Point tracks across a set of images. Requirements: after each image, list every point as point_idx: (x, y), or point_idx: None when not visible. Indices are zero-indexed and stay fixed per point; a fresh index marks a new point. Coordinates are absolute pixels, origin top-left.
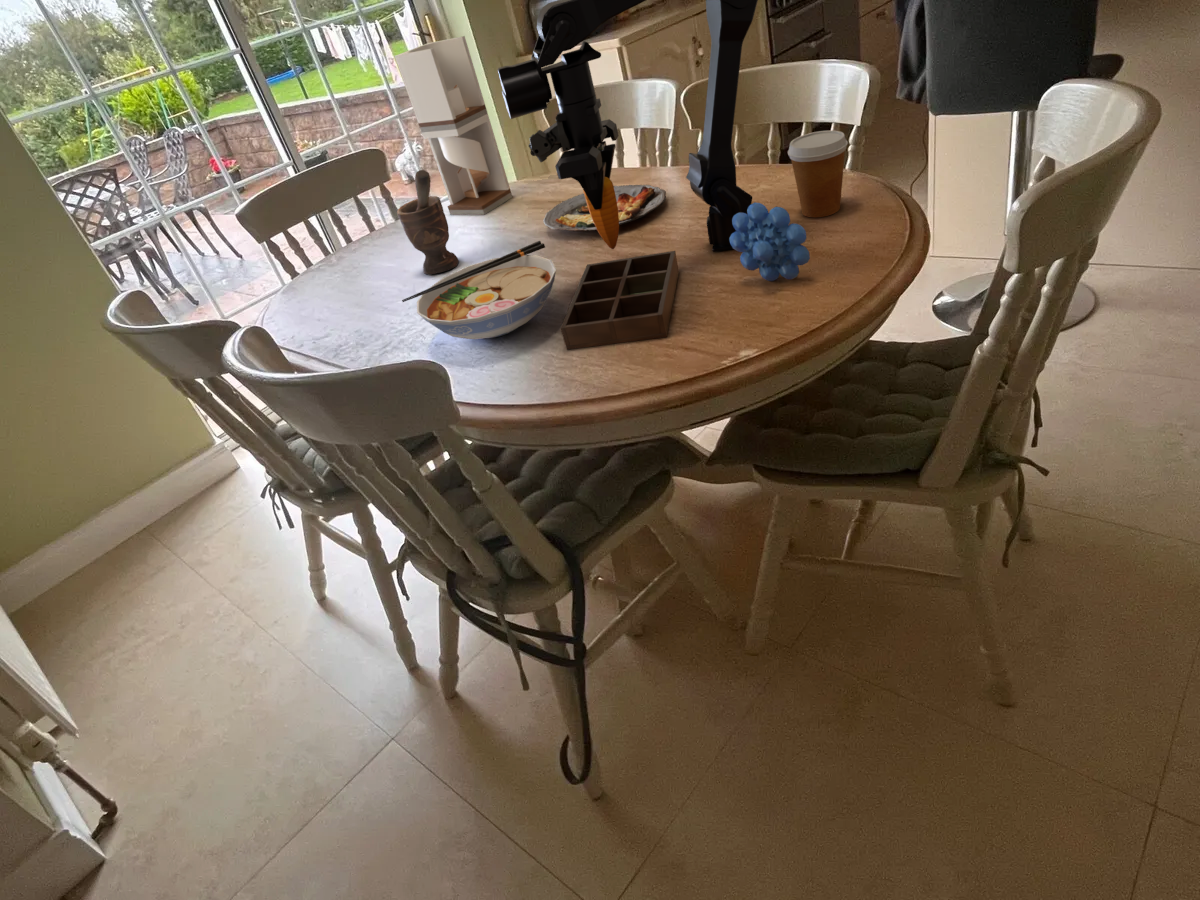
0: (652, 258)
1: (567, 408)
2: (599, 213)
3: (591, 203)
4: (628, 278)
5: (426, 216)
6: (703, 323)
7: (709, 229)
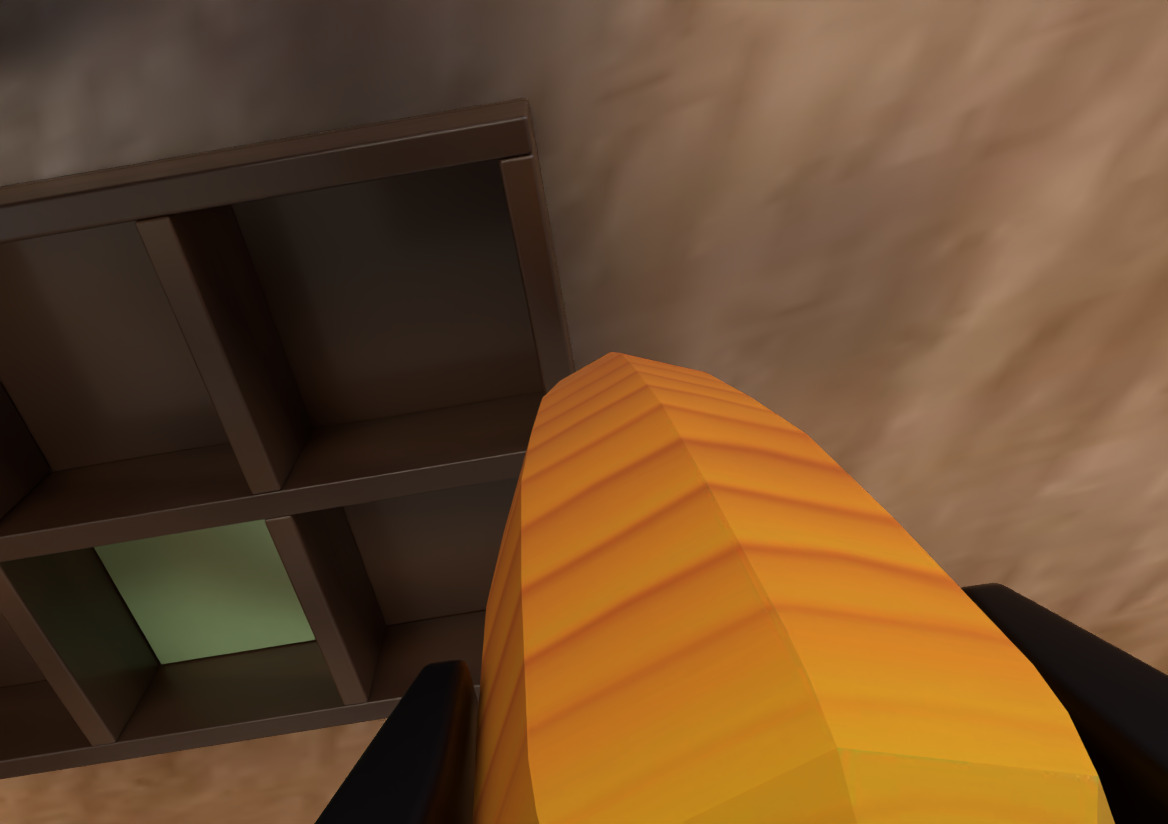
0: None
1: None
2: (486, 627)
3: (365, 752)
4: (270, 526)
5: None
6: (98, 785)
7: None
